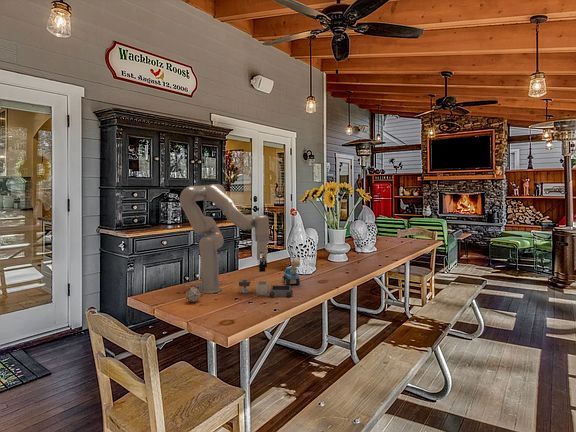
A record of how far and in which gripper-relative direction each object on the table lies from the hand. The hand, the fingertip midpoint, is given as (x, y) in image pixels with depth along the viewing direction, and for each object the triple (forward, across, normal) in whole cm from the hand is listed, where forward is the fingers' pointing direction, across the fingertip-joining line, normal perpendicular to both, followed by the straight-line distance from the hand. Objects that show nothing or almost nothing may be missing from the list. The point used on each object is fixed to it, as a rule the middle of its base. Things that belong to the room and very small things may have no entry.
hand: (263, 269), depth 204 cm
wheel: (+9, -2, -11) cm, 14 cm away
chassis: (+14, 0, +9) cm, 17 cm away
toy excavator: (+14, -18, +15) cm, 28 cm away
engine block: (+14, 0, -1) cm, 14 cm away
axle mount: (+13, -2, -11) cm, 17 cm away
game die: (+13, +14, -35) cm, 40 cm away
